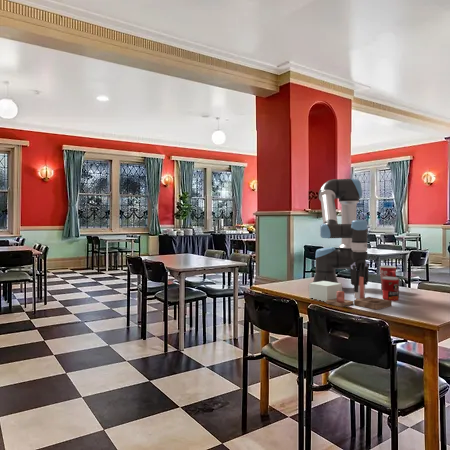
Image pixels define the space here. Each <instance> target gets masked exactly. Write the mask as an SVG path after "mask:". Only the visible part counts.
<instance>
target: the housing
mask: <svg viewBox="0 0 450 450" xmlns="http://www.w3.org/2000/svg"><path fill="white" fill-rule="evenodd" d="M337 291H343V284H342V283H340V282H338V283H335V282H328V281H320V282H313V281H312V282H309V283H308V293H309V295H308V296H309V297H308V298H313V299H312V300H314V299H317V300H316V301H319V300H321V301H320V302H323V301H324V303H326V300H331V299H336V298H337Z"/></svg>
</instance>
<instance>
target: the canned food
mask: <svg viewBox="0 0 450 450" xmlns="http://www.w3.org/2000/svg"><path fill="white" fill-rule="evenodd" d="M399 278H400V277H398V276H396V277H383V280H382V284H383V290H382V299H384V300H390V301H392V302H395V301H399V299H400V279H399Z"/></svg>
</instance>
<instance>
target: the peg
mask: <svg viewBox="0 0 450 450" xmlns="http://www.w3.org/2000/svg"><path fill="white" fill-rule="evenodd" d="M359 286H360V299H361V298H364V277H360V278H359Z"/></svg>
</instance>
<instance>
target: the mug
mask: <svg viewBox="0 0 450 450" xmlns="http://www.w3.org/2000/svg"><path fill="white" fill-rule="evenodd" d="M379 272H380V273H379V274H380V288H381V291H383V284H382V280H383V277H397V266H395V265H393V266H392V265H380V266H379Z"/></svg>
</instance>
